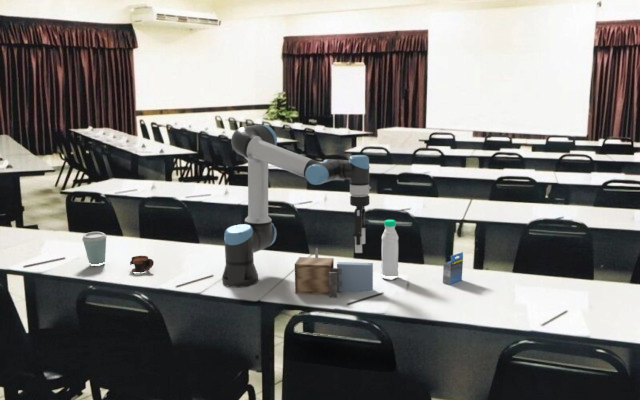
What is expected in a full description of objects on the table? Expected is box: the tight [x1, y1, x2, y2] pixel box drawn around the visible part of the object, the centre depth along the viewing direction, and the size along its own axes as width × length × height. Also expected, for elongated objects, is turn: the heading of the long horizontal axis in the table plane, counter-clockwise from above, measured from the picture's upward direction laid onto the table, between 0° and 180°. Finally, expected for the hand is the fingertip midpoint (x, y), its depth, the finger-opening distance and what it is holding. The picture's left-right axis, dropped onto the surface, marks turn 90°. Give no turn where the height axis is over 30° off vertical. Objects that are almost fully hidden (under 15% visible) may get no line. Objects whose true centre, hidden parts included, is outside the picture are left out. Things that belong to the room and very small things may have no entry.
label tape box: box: [442, 251, 464, 286], centre depth 253 cm, size 9×4×12 cm, turn 134°
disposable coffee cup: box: [82, 231, 107, 264], centre depth 284 cm, size 11×11×15 cm
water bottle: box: [380, 219, 399, 277], centre depth 258 cm, size 7×7×25 cm
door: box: [336, 261, 374, 292], centre depth 245 cm, size 14×3×11 cm, turn 81°
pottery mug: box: [129, 255, 155, 273], centre depth 275 cm, size 12×10×8 cm
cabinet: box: [294, 256, 340, 299], centre depth 243 cm, size 17×13×12 cm
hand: (360, 248), depth 242 cm, fingers open, 13 cm apart
